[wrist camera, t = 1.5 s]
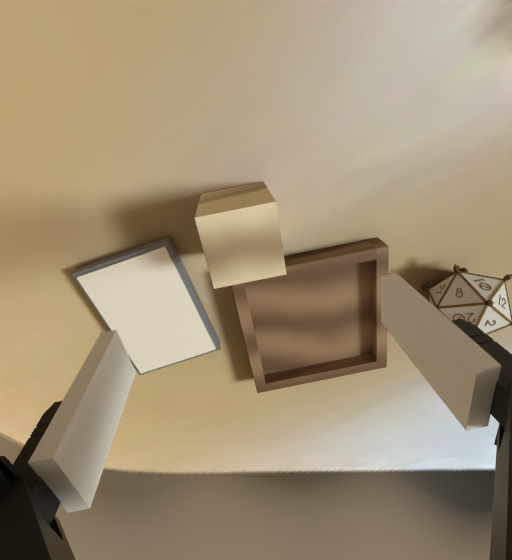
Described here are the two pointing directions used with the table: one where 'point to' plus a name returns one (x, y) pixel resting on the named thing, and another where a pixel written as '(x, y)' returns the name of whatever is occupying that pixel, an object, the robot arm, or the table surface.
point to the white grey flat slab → (149, 305)
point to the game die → (473, 299)
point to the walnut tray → (316, 316)
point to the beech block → (240, 234)
